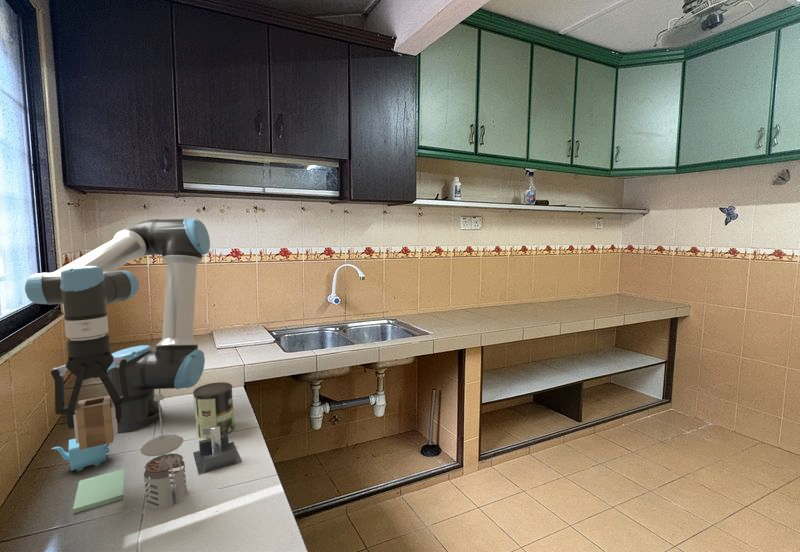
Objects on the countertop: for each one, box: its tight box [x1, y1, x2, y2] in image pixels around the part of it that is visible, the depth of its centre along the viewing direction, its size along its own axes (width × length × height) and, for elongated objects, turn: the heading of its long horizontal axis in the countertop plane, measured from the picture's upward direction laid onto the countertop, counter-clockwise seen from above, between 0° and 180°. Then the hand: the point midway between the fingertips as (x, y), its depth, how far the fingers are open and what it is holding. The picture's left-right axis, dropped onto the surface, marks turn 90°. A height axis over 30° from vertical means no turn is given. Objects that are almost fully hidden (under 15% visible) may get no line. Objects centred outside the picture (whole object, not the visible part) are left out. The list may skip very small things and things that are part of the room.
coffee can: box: [192, 381, 235, 440], centre depth 121 cm, size 10×10×14 cm
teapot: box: [51, 437, 111, 472], centre depth 106 cm, size 12×6×8 cm, turn 128°
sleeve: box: [75, 394, 115, 450], centre depth 94 cm, size 6×6×9 cm
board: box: [72, 468, 126, 514], centre depth 96 cm, size 12×10×1 cm
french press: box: [139, 393, 188, 510], centre depth 89 cm, size 10×12×25 cm
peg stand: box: [192, 425, 243, 476], centre depth 106 cm, size 12×10×10 cm
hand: (97, 436), depth 94 cm, fingers closed on sleeve, 6 cm apart
